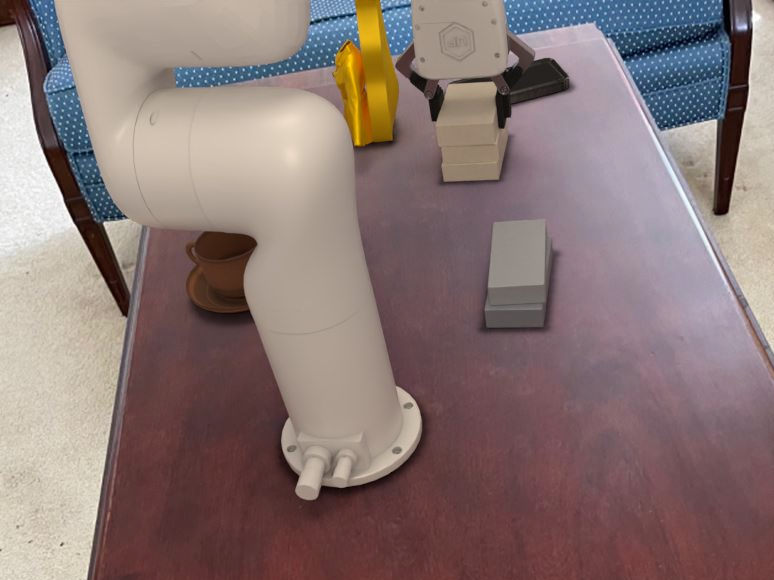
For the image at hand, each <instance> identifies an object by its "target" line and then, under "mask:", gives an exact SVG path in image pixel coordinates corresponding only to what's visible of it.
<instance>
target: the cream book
mask: <svg viewBox="0 0 774 580" xmlns="http://www.w3.org/2000/svg"><path fill="white" fill-rule="evenodd" d="M447 85H448V87H447V88H446V91H445V93H444V101H443V104H442V107H441V110H440V112H439V115H438V119H437V122H436V121H435V125H434V128H435V132H436V133H435V134H436V140H437V147H438V148H441V147H449V146H471V145H493V144H495V142H496V138H497V134H498V129H499V127H498V117H497V108H496V102H495V96H496V91H497V87H496V86H495V84H494V82H479V83H462V84H449V83H447Z"/></svg>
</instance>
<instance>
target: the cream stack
mask: <svg viewBox="0 0 774 580" xmlns="http://www.w3.org/2000/svg"><path fill="white" fill-rule="evenodd" d="M508 138H509V131H508V120H506V124H505V129H500V128H499V129H498V134H497V138H496V142H495V144H493V145H471V146H449V147H440V150H441V158H442V161H441V165H440V167H441V172H442V179H443V182H444V183H448V182H472V181H473V182H475V181H498V180H500V176H501V171H502V167H503V163H504V157H505V154H506V153H505V152H506V148H507V143H508Z"/></svg>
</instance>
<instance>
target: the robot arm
mask: <svg viewBox="0 0 774 580" xmlns="http://www.w3.org/2000/svg"><path fill="white" fill-rule="evenodd" d="M53 4H54V9H55V13H56V18H57V22H58V27H59V30H60V31H59V32H60V34H61V38H62V42H63V46H64V49H65V52H66V56H67V60H68V63H69V68H70V71H71V75H72V78H73V82H74V85H75V89H76V93H77V96H78V99H79V104H80V108H81V111H82V114H83V118H84V121H85V122H84V123H85V125H86V128H87V129H86V130H87V134H88V137H89V139H90V144H91V147H92V150H93V154H94V157H95V160H96V164H97V167H98V170H99V173H100V176H101V178H102V181H103V183H104V186H105V188H106V191H107V193H108V195H109V197H110V198H111V200H112V201H113V203H114V205H115V206H116V207H117V208H118V210H119V211H120V212H121V213H122V214H123V215H124V216H125V217H127V218H128V219H129V220H131V221H132V222H134V223H135V224H138V225H140V226H143V227H147V228H150V229H159V230H170V231H171V230H172V231H190V232H204V231H213V232H225V233H238V234H245V235H249V236H251V237H253V238H254V239H255V240H256V241H257V244H258V245H257V246H256V248H255V250H254V251H253V253H252V255H251V257H250V258H249V261H248V263H247V265H246V269H245V273H244V292H245V296H246V300H247V303H248V306H249V309H250V310H249V311H250V314H251V316H252V319H253V321H254V324H255V326H256V329H257V332H258V335H259V338H260V340H261V344H262V346H263V349H264V352H265V355H266V357H267V360H268V362H269V365H270V368H271V370H272V374H273V377H274V379H275V381H276V384H277V387H278V390H279V392H280V395H281V399H282V401H283V403H284V406H285V409H286V412H287V415H288V418H287V419H286V421H285V422H284V426H283V428H282V431H281V438H280V443H281V449H282V452H283V455H284V458H285V460H286V462H287V464H288V465H289V467H290V469H291V470H292V471H293V472H294V473H295V474H297V475H298V481H297V483H296V487H295V489H294V492H295V494H296V496H298V498H300V499H303V500H305V501H313V500H316V499H318V497H319V495H320V492H321V489H322V486H324V487H330V488H331V487H332V488H340V489H343V488H347V487H353V486H354V487H355V486H361V485H364V484H368V483H371V482H374V481H377V480H378V479H381V478H383V477H385V476H387V475H389V474H390V473H391V472H392V473H393V472H394V471H396V470H397V469H399V468H400V467H401V466H402V465H403V464H404V463H405V462H406V461H407V460H409V458H410V457H411V456H412V454H413V453H414V452H415V450H416V449H417V447H418V445H419V443H420V441H421V437H422V433H423V419H422V416H421V411H420V408H419V405H418V404H417V402H416V400H415V399H414V397H412V396H411V394H410V393H408V392H407V391H406V390H405V389H403V388H402V387H400V386H397V385H396V382H395V377H394V373H393V368H392V365H391V360H390V356H389V353H388V348H387V343H386V340H385V336H384V332H383V326H382V323H381V318H380V315H379V311H378V306H377V301H376V298H375V293H374V289H373V285H372V282H371V277H370V273H369V269H368V265H367V260H366V256H365V251H364V247H363V242H362V235H361V230H360V224H359V216H358V215H359V213H358V206H357V205H358V204H357V191H356V190H357V187H356V168H355V167H356V166H355V153H354V143H353V140H352V138H351V134H350V130H349V127H348V125H347V123H346V120H345V119H344V114H342V112H341V111H340V110H339V109H338V108H337V107H336V106H335V105H334V104H333V103H331V101H329V100H328V99H326V98H324V97H322V96H321V95H319V94H316V93H313V92H311V91H308V90H304V89H301V88H294V87H288V86H277V85H276V86H275V85H243V86H242V85H240V86H239V85H237V86H235V85H234V86H232V85H231V86H229V85H228V86H227V85H224V86H221V85H220V86H199V87H198V86H196V87H195V86H189V87H188V86H187V87H186V86H185V87H183V86H182V87H179V86H178V87H177V81H176V76H175V75H176V73H175V68H177V69H178V68H187V69H188V68H236V67H237V68H240V67H253V66H254V67H255V66H264V65H271V64H276V63H281V62H282V61H285V60H289V59H290V58H291V57H293V56H295V55H296V54H298V53H299V52H300V50H301V49H302V48H303V46H304V44H305V43H306V41H307V39H308V36H309V31H310V25H311V18H312V17H311V15H312V13H311V12H312V11H311V10H312V9H311V0H53ZM410 12H411V13H410V14H411V29H412V37H413V38H412V39H413V40H412V41H411V42H410V43H409V44H408V46H407V47H405V49H404V50H403V52H402V53H401V54H400V55H399V56H398V57H397V59H396V62H395V64H394V69H395V70H397V72H399V74H401V75H402V76H403V77H405V78H406V79H408V81H409V82H410V84H411V85H412V86H413V87H414V88H416V89H417V90H419V91H420V92H421V93H422V94H423V96H424V98H425V99H426V100H427V101H428V108H429V114H430V120H431V122H433V123H434V122H435V123H436V122H437V119H438V115H439V112H440V110H441V107H442V104H443V101H444V97H445V92H444V88H442V86H441V85H440V84H439V82H440V81H446V80H447V81H449V80H460V79H468V78H483V77H491V79H492V81H493V82H494V84H495V86H496V87H497V91H496V96H495V102H496V108H497V117H498V127H499V128H500V129H505V124H506V120H507V119H511V118H512V112H513V111H512V104H511V99H510V89H511V88H512V87H513V86H514V85H515V84H516V83H517V81H518V80H519V79H520V78H521V77H522V75H523V73H524V72H525V71H526V70H527V69H528V68H529V66H530V65H531V64H532V63H533V61H535V59H536V51H535V49H533V48H532V47H531V46H530V45H529V44H527V43H526V42H525V41H523V40H522V39H521V38H520V37H519V36H517V35H516V34H514V32H512V31H511V30H510V29H509V25H508V19H507V13H506V7H505V3H504V0H410ZM510 52H511V53H512V54H514V55H515V56H516V57H517V58H518V59H517V61H516V62H514V64H512V65H511V66H512V67H511V66H510V67H511V68H510V69H509V71H508V70H507V67H508V63H509V62H508V61H509V55H510ZM414 60H415V64H416V65H415V64H414V63H413V61H414ZM507 121H508V120H507Z"/></svg>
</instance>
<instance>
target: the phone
mask: <svg viewBox="0 0 774 580" xmlns="http://www.w3.org/2000/svg"><path fill="white" fill-rule="evenodd" d="M512 66H513V65H511V66H507V67H506V68H507V70H508V71H509V69H510V68H511V67H512ZM479 82H493V81H492V79H491V77H483V78H468V79H455V80H453V81H450V82H448V84H462V83H479ZM448 84H447V87H448ZM569 88H570V76H569V75H568V73H567V72H566V71H565V70H564V69H563V68H562V67H561V65H560V64H559V63H558V62H557V60H555V59H554V58H553V57H542V58H539V59H536V60H535V59H534V61H533V63H532V64H531V65H530V66H529V68H528V69H527V70H526V71H525V72H524V73H523V75H522V77H521V78H520V79H519V80H518V81H517V83H516V84H515V85H514V86H513V87H512V88H511V89H510V99H511V105H512V104H515V103H520V102H523V101H527V100H532V99H534V98H538V97H543V96H547V95H549V94H555V93H558V92H561V91H565V90H568V89H569Z"/></svg>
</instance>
